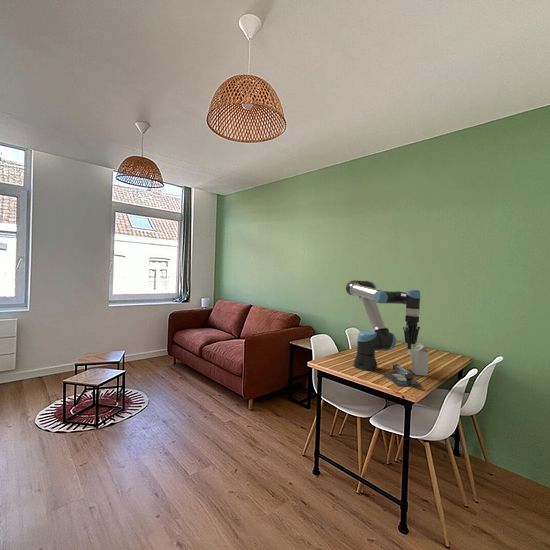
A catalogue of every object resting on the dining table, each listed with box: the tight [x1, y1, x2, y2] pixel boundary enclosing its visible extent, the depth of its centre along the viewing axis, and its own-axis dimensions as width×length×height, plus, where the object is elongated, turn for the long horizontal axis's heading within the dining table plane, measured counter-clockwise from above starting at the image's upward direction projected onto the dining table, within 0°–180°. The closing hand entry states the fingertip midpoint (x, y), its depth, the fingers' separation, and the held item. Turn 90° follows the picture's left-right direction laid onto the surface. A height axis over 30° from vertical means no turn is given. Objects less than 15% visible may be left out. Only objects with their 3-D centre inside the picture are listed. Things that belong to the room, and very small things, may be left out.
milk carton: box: [410, 342, 430, 377], centre depth 186 cm, size 7×7×19 cm
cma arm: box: [392, 363, 414, 380], centre depth 172 cm, size 18×4×3 cm, turn 7°
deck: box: [383, 373, 422, 387], centre depth 172 cm, size 16×14×4 cm
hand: (410, 354), depth 175 cm, fingers closed
